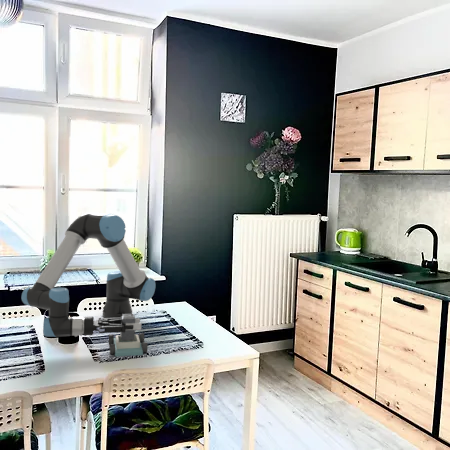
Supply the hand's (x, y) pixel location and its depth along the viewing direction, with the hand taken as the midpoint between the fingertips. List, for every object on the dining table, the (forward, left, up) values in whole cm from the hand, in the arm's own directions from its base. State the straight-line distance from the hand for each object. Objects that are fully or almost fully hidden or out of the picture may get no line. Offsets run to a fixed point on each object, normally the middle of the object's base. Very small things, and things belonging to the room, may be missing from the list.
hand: (140, 323), depth 202 cm
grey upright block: (-4, -3, -6) cm, 8 cm away
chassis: (-4, -3, -10) cm, 11 cm away
